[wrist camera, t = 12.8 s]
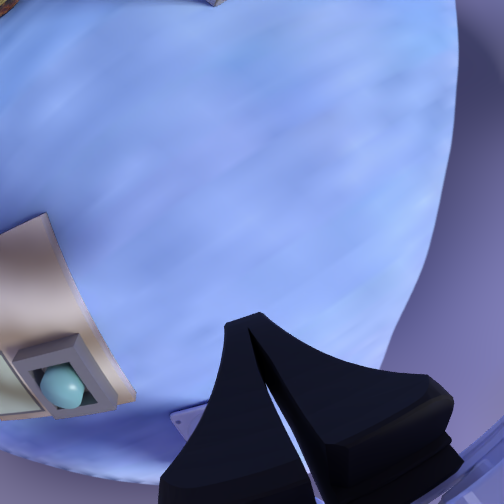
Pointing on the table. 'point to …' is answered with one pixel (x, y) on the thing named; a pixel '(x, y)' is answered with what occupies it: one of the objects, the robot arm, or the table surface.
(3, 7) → the sauce bottle
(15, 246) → the beige flat square board
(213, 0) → the coffee box
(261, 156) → the table surface
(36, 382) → the button housing
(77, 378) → the button
